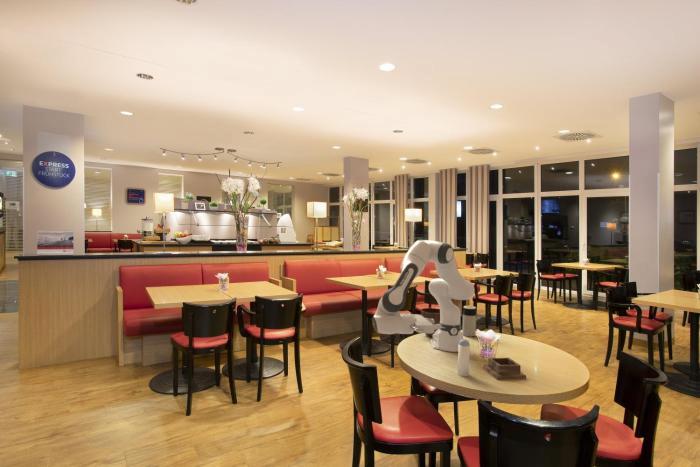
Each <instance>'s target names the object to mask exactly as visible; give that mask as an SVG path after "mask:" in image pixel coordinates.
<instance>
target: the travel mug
mask: <svg viewBox="0 0 700 467" xmlns="http://www.w3.org/2000/svg"><path fill="white" fill-rule="evenodd" d="M476 308H477V307H476V306H473V305H464V306H463V311H462V328H461V332H462V333H463V337H464V336H465V337H467V336H469V338H473V337H472V336H474V337H475V336H476V332H477V330H476V329H477V327H476V326H477V312H476Z"/></svg>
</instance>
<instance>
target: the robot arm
mask: <svg viewBox="0 0 700 467" xmlns="http://www.w3.org/2000/svg"><path fill="white" fill-rule="evenodd" d="M454 251H455V250H454V248H453V246H452V245H451V244H450V243H447V242H441V241H437V240H429V239H423V238H422V239H418V240H416V241H414V242H413V244H412V245H411V247H410V248H409V249H408V251H407V252H406V254H405V255H404V257H403V259H402V260H401V263H400V265H399V268H400V271H401V273H400V274H399V277H398V279H397V280H396V282H395V283H394V285H393V286H392V287H390V288H389V289H387V290H386V291H385V292H384V293H383V295H382V296H381V298H380V299H379V301H378V303H377V304H378V305H377V308H376V310H375V313H374V315H373V316H372V318H371V320H372V321H371V322H372V326H373V329H374V331H375V332H376V333H378V334H382V335H394V334H401V335H411V334H414V332H416V333H417V334H418V333H419V334H425V333H434V330H436V329H438V330H437V331H435V334H433V337H432V338H430V341H431V342H430V344H431V346H432V348H433V349H436V350H441V351H444V352H453V353H454V352H458V344H459V341H460V340H462V339H464V335H463V333H462V323H461V309H460V307H458V306H457V305H456V304H454V303H453V301H452V300H457V301H458V300H459V301H467V300H468V301H469V300H470V301H471V299H473V297H474V295H475V290H476V289H475V287H474V284H473V283H472V282H471V281H469V280H467V279H466V277H464V276H463V275H462V274H461V273H460V271H459V269H458V267H457V262H456V256H455V254H454ZM428 262H430V263H434V267H435V269H436V273H437V276H438V277H439V278H432V279H431V280H430V282H429V284H428V291H429V293H430V294H431V295H432V297H434V299H435V300H436V302H437V304H438V307H439V308H438V309H440V322H439V324H436V325H434V324H432V323H434V319H429V318H424V317H423V316H422V315H421V314H415V313H414V314H413V313H408V312H403V313H400V311H402V309H404V307H405V306H406V301H407V300H406V299H407V293H408V291H409V288H410V287H411V285H412V283H413V282H414V280H416V278H418V277H419V276H420V275H421V273H422V272H423V271H424V270H425V268H426V266H427V265H428Z"/></svg>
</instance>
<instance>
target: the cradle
mask: <svg viewBox="0 0 700 467" xmlns="http://www.w3.org/2000/svg"><path fill="white" fill-rule="evenodd" d="M487 363H488V364H483V365H482V369H484V370H485V371H486V372H487V373H489V375H490V376H492V377H493V378H495V379H496V380H497V381H499V380H526V379H527V374H525V373H524V372H522V371H521V368H522V367H521V365H520V363H518V362H516V361H514V360H513V359H512V358H510V357H488V362H487Z"/></svg>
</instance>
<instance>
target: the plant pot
mask: <svg viewBox="0 0 700 467" xmlns="http://www.w3.org/2000/svg"><path fill="white" fill-rule="evenodd" d="M420 315H422V316H423V317H424V318H429V319H434V323H432V324H434V325H436V324H439V322H440V308H438V307H436V308H434V307H424V308H421V309H420ZM437 330H438V329H436V330H434V333H424V334H425V336H426V335H427V336H426V337H428V336H430V337H429V338H433V334H435V331H437Z"/></svg>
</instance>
